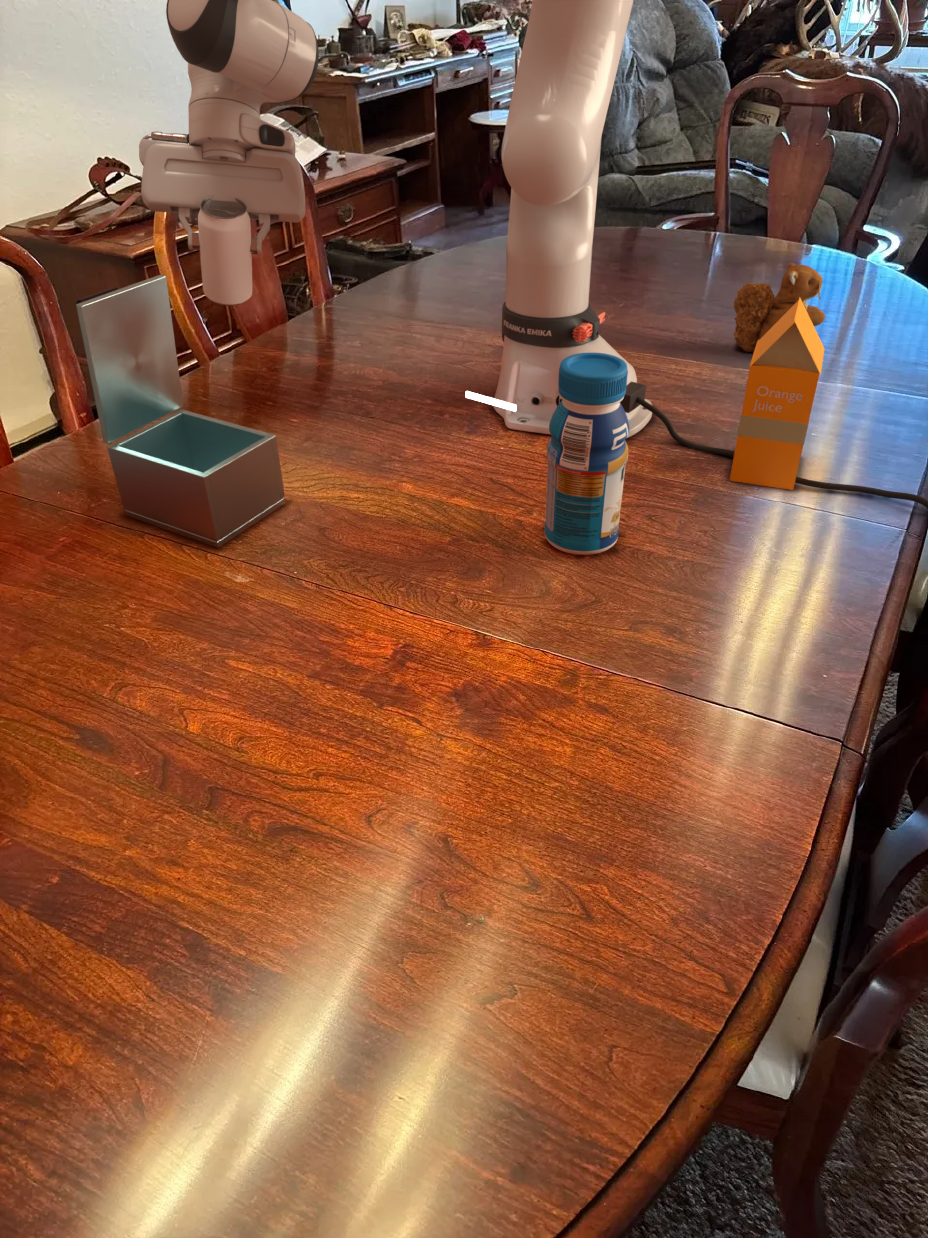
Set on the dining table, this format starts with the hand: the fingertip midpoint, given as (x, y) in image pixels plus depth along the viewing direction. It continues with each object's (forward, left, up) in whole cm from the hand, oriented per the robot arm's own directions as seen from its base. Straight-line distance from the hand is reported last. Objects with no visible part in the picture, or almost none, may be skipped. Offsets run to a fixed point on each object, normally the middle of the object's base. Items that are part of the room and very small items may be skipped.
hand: (225, 251), depth 118 cm
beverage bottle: (-55, +8, -22) cm, 60 cm away
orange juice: (-68, -18, -22) cm, 74 cm away
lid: (-8, +24, -5) cm, 26 cm away
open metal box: (-14, +24, -22) cm, 36 cm away
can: (+2, -1, -6) cm, 7 cm away
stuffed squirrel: (-57, -59, -22) cm, 85 cm away
